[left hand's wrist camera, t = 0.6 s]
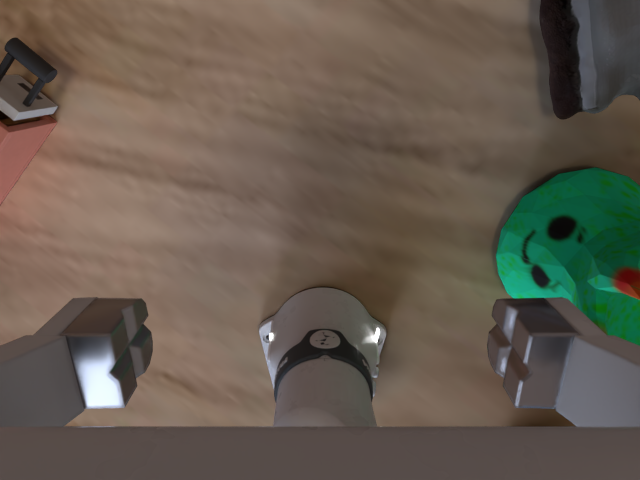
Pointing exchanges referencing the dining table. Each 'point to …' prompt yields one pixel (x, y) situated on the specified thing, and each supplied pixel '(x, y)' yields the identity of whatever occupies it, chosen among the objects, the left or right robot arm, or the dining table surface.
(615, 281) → the toy
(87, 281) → the dining table surface
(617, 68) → the rock
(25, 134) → the cabinet
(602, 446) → the left robot arm
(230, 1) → the dining table surface
